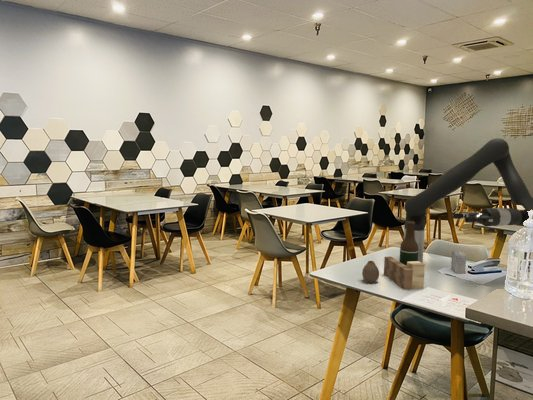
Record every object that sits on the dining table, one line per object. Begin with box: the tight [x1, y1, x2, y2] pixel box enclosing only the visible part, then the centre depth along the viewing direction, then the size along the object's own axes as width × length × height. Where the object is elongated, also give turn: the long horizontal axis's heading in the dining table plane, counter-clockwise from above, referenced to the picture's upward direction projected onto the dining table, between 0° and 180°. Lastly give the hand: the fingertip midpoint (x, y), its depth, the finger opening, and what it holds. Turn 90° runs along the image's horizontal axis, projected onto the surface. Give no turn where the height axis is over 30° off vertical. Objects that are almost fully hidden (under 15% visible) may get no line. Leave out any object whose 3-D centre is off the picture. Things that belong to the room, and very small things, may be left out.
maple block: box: [407, 261, 426, 290], centre depth 166 cm, size 5×5×10 cm
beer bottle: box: [398, 221, 418, 266], centre depth 182 cm, size 8×8×24 cm
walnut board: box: [383, 256, 413, 290], centre depth 173 cm, size 20×3×8 cm, turn 8°
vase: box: [361, 260, 380, 284], centre depth 172 cm, size 7×7×9 cm
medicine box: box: [450, 250, 467, 274], centre depth 187 cm, size 8×4×9 cm, turn 168°
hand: (458, 217), depth 167 cm, fingers open, 8 cm apart
